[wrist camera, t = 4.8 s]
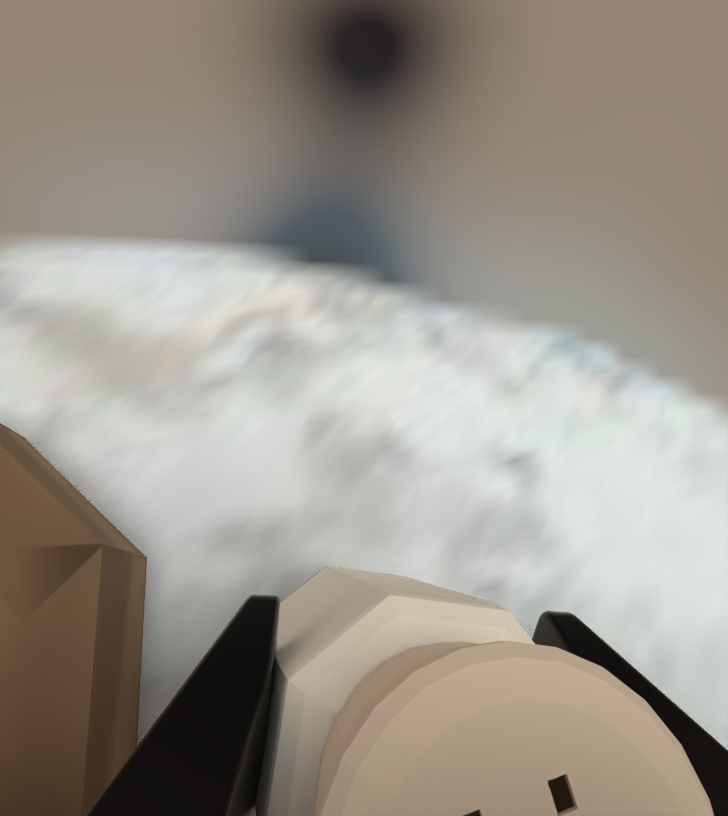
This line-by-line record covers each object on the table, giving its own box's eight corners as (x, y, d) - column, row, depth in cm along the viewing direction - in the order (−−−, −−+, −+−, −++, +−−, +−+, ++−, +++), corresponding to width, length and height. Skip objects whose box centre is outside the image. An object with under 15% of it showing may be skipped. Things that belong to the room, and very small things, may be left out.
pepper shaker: (266, 846, 12) (149, 2038, 2) (220, 595, 14) (22, 564, 4) (491, 763, 13) (1145, 1273, 3) (424, 539, 15) (718, 393, 5)
